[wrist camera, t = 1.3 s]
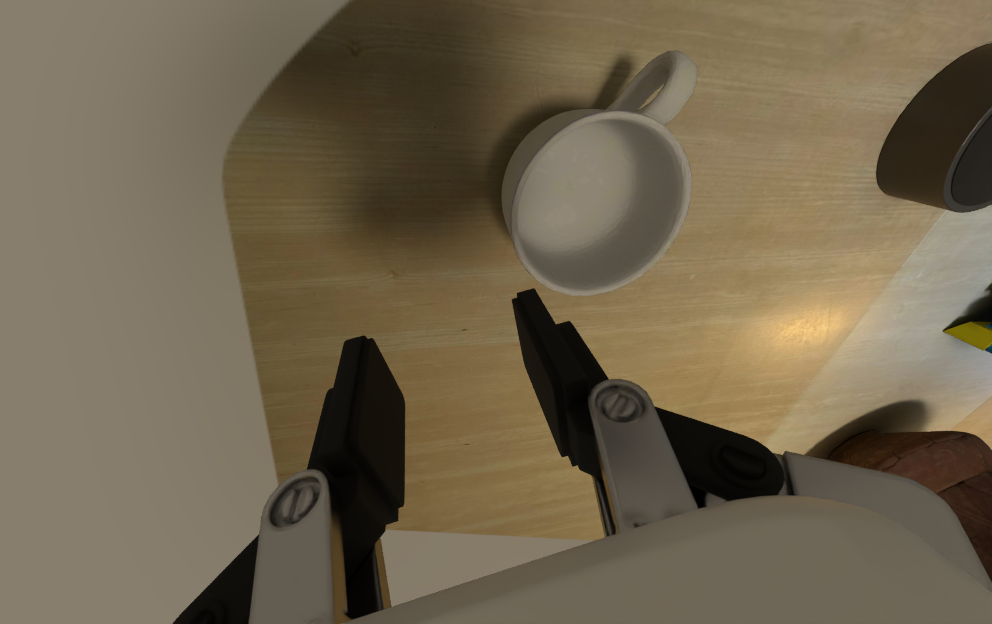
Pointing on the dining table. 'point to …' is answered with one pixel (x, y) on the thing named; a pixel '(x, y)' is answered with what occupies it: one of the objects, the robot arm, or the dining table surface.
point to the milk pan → (945, 139)
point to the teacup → (602, 185)
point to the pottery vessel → (936, 473)
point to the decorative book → (974, 334)
